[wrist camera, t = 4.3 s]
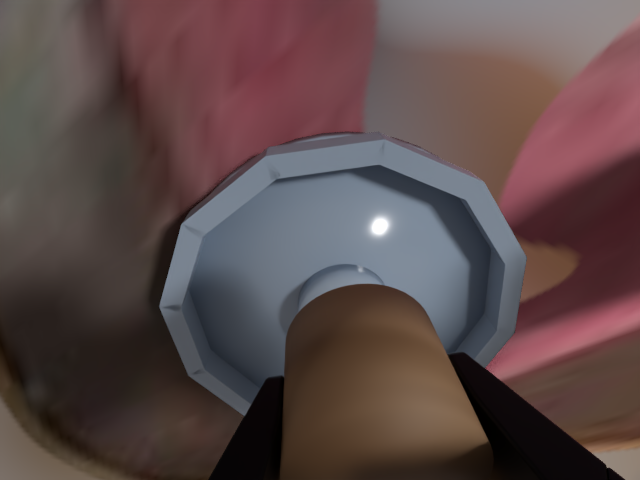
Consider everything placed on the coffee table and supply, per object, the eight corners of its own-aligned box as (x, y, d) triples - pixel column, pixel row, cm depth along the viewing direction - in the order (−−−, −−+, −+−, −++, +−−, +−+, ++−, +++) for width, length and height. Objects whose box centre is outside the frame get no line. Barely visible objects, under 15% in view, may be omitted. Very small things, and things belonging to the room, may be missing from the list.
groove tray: (514, 106, 17) (549, 116, 14) (482, 377, 25) (501, 411, 23) (131, 160, 17) (104, 178, 15) (226, 410, 26) (219, 447, 23)
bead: (373, 410, 11) (402, 548, 8) (258, 364, 10) (241, 504, 7) (463, 324, 10) (539, 452, 7) (340, 257, 9) (363, 375, 6)
